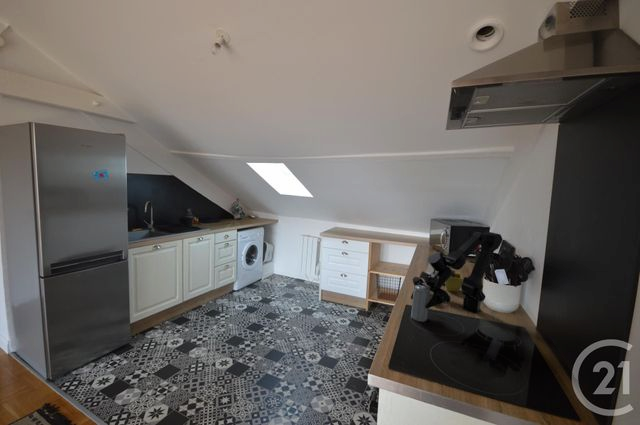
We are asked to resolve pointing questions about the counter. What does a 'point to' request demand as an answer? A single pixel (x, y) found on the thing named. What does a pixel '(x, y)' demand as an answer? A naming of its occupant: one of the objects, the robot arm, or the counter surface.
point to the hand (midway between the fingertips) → (418, 303)
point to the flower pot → (454, 283)
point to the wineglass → (430, 269)
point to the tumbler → (420, 302)
